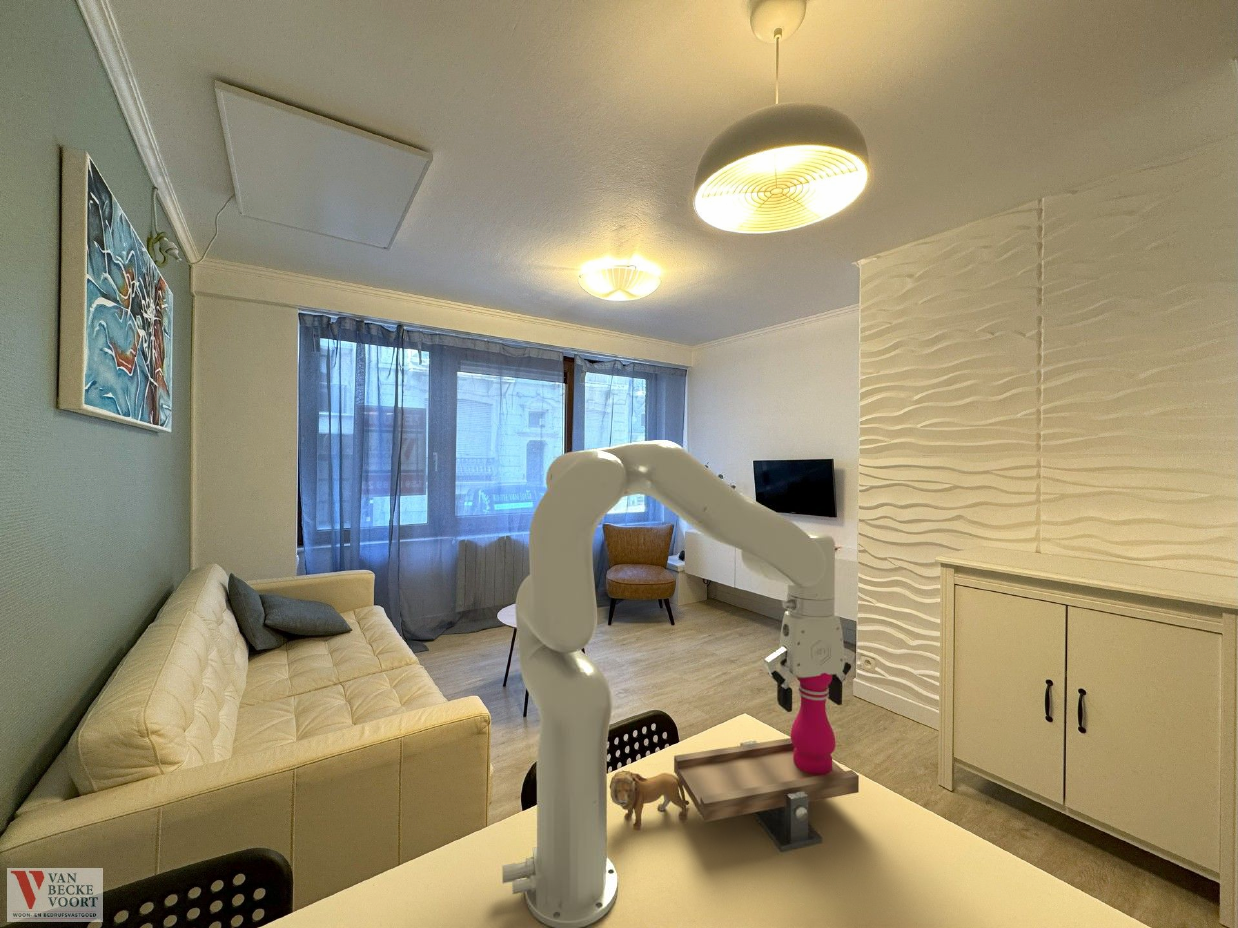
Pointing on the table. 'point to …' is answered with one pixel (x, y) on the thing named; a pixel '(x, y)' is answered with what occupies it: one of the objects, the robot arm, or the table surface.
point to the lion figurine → (646, 793)
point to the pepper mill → (813, 727)
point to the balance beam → (754, 779)
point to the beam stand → (789, 822)
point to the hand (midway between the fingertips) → (809, 704)
